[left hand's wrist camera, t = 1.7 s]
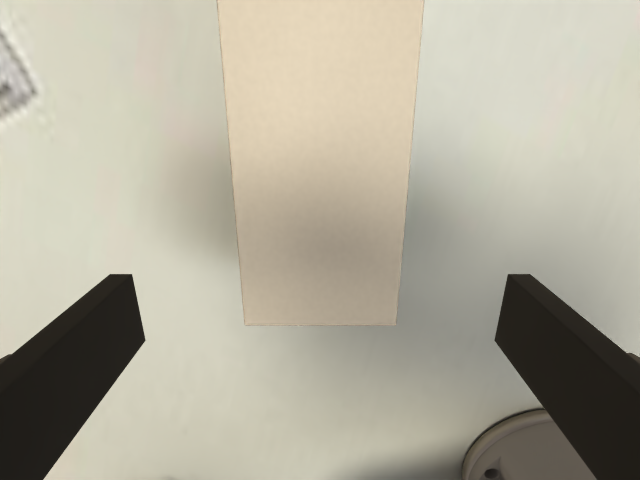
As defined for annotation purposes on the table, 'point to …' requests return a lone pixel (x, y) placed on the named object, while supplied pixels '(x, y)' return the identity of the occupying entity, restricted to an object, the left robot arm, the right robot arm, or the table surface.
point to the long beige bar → (320, 154)
